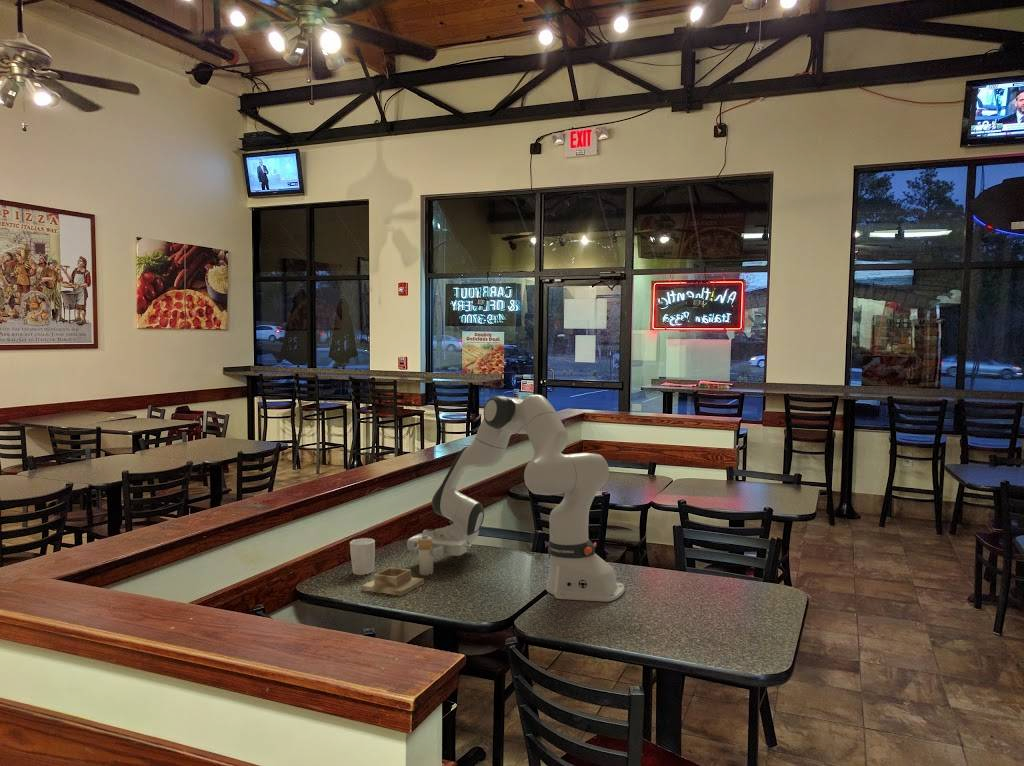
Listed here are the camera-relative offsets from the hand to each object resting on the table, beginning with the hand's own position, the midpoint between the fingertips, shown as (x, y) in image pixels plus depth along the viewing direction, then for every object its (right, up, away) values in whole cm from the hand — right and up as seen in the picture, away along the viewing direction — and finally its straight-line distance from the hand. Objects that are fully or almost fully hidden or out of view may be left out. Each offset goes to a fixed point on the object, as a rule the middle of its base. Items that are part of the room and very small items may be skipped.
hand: (424, 551), depth 224 cm
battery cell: (+1, -7, +1) cm, 7 cm away
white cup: (-20, -8, +5) cm, 22 cm away
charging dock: (-8, -8, -11) cm, 16 cm away
